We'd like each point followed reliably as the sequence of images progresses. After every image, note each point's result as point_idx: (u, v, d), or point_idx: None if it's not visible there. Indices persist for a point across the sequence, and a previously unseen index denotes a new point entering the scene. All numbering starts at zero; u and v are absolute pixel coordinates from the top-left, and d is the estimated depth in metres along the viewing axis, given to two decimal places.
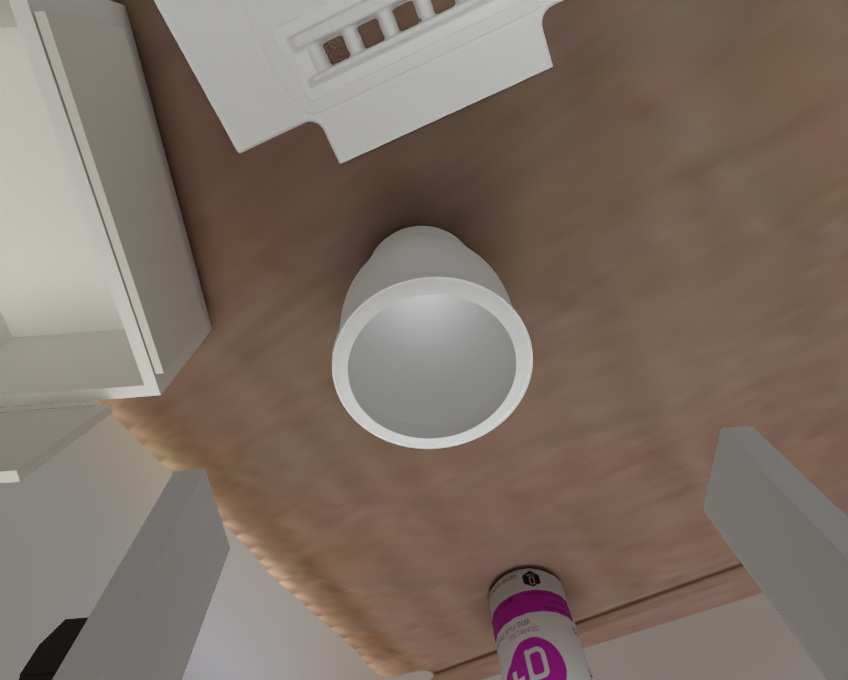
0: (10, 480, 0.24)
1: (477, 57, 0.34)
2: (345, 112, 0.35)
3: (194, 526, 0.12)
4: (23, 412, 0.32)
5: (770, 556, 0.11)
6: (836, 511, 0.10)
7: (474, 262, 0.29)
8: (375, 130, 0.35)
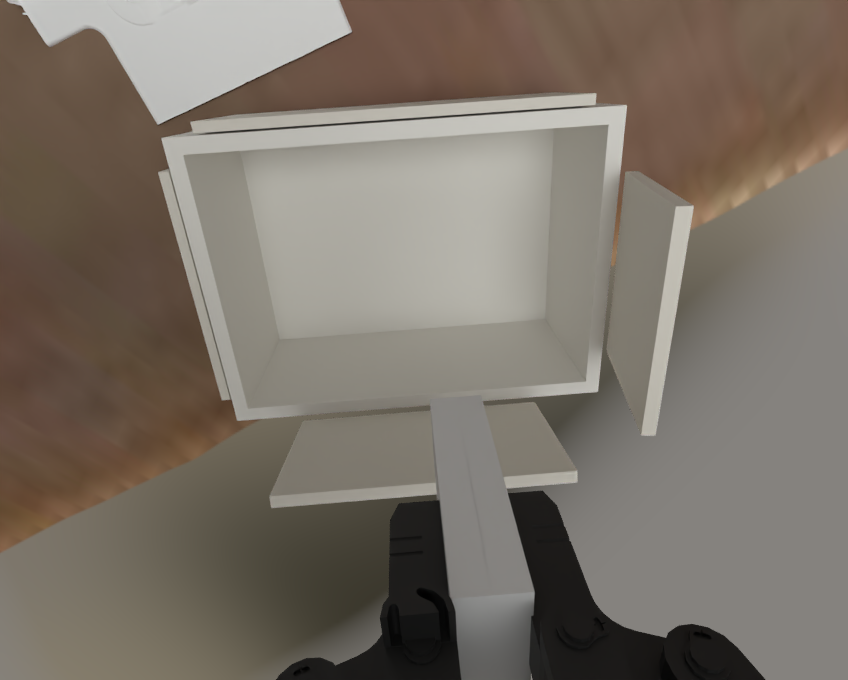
0: (689, 218, 0.18)
1: None
2: None
3: None
4: (616, 272, 0.27)
5: None
6: (498, 460, 0.12)
7: None
8: None
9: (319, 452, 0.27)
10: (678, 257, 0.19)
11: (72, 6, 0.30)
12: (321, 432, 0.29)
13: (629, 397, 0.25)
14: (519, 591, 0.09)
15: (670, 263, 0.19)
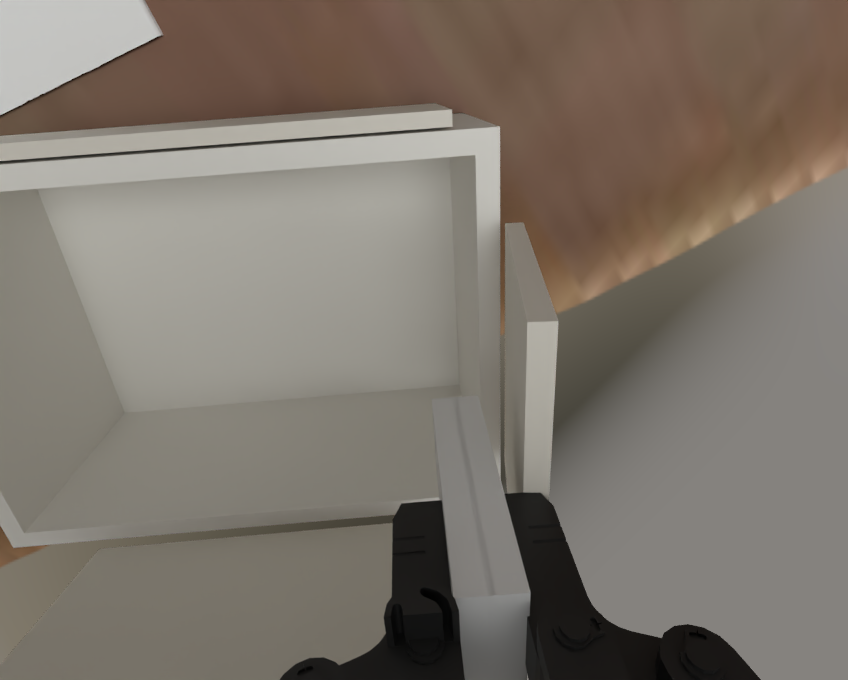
0: (552, 340, 0.10)
1: None
2: None
3: None
4: (505, 361, 0.19)
5: None
6: (494, 461, 0.12)
7: None
8: None
9: (79, 621, 0.19)
10: (542, 402, 0.11)
11: None
12: (108, 575, 0.21)
13: None
14: (515, 592, 0.09)
15: (531, 409, 0.11)
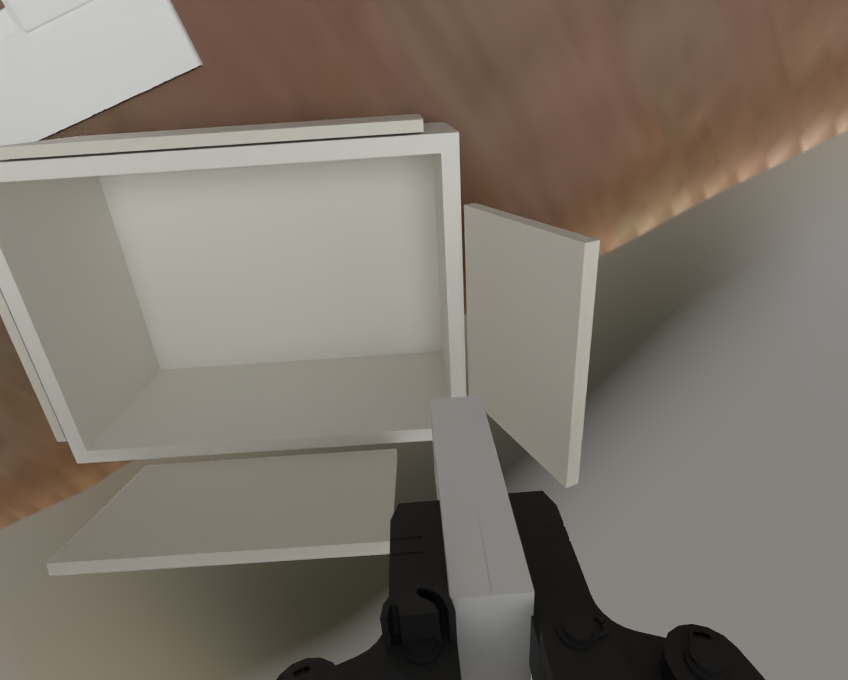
0: (596, 253, 0.17)
1: None
2: None
3: None
4: (469, 312, 0.25)
5: None
6: (497, 460, 0.12)
7: None
8: None
9: (135, 506, 0.25)
10: (589, 296, 0.17)
11: None
12: (154, 480, 0.27)
13: (530, 446, 0.22)
14: (519, 591, 0.09)
15: (581, 304, 0.17)
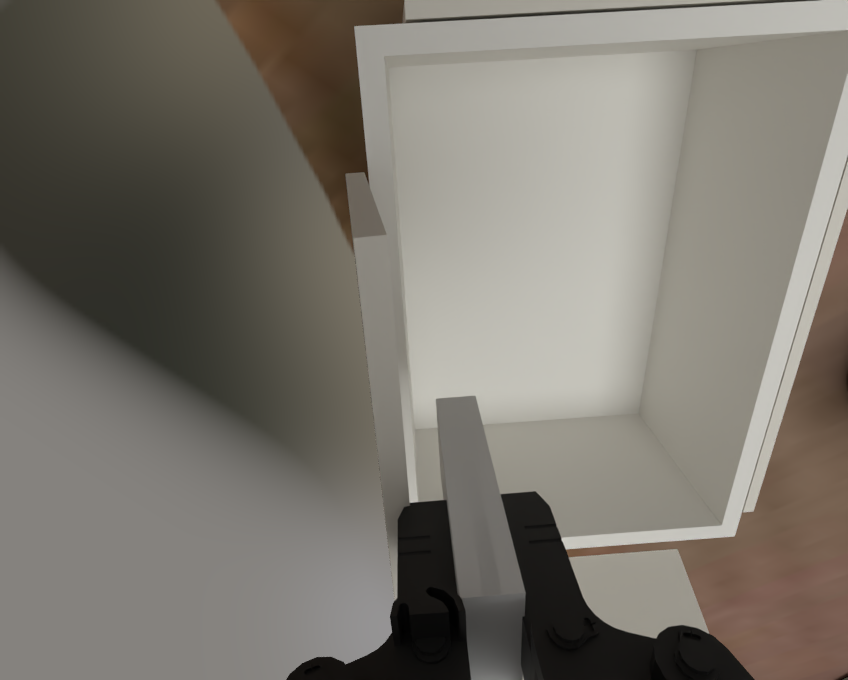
0: None
1: None
2: None
3: None
4: (573, 564, 0.24)
5: None
6: (491, 461, 0.12)
7: None
8: None
9: None
10: None
11: None
12: None
13: None
14: (510, 592, 0.09)
15: None
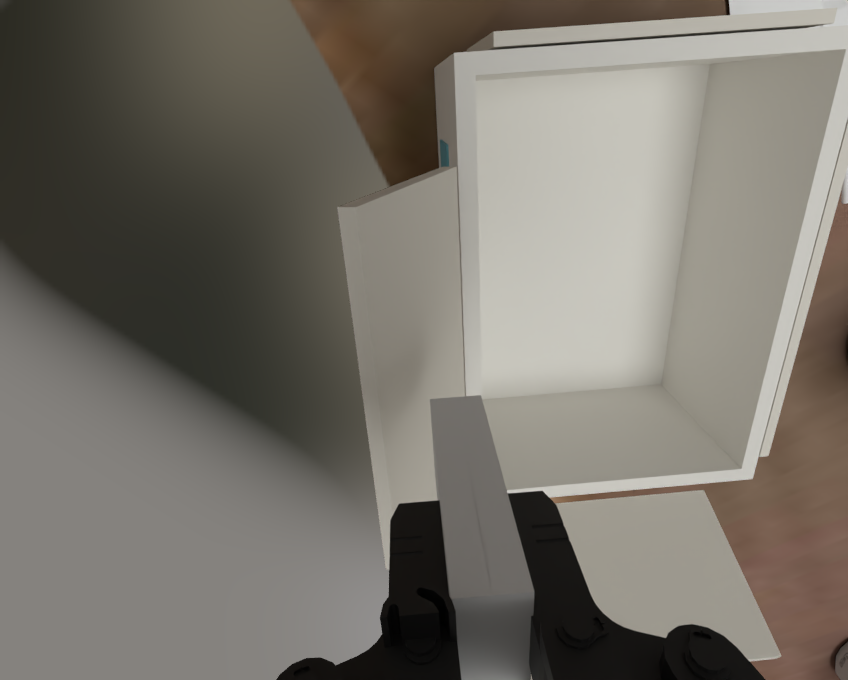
0: (766, 659, 0.24)
1: None
2: None
3: None
4: (614, 504, 0.28)
5: None
6: (497, 460, 0.12)
7: None
8: None
9: (416, 233, 0.18)
10: None
11: None
12: (441, 211, 0.20)
13: None
14: (519, 591, 0.09)
15: None
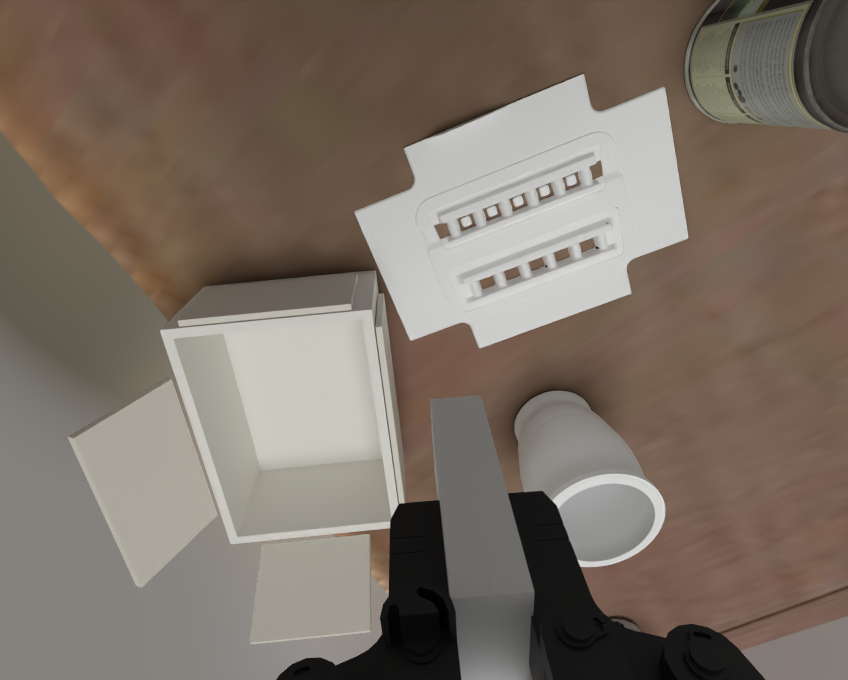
0: (365, 632, 0.43)
1: (581, 287, 0.49)
2: (488, 318, 0.50)
3: None
4: (314, 543, 0.48)
5: None
6: (497, 460, 0.12)
7: (619, 446, 0.45)
8: (506, 329, 0.51)
9: (132, 426, 0.37)
10: (348, 633, 0.43)
11: (427, 173, 0.44)
12: (157, 406, 0.39)
13: (258, 610, 0.44)
14: (519, 591, 0.09)
15: (344, 632, 0.43)
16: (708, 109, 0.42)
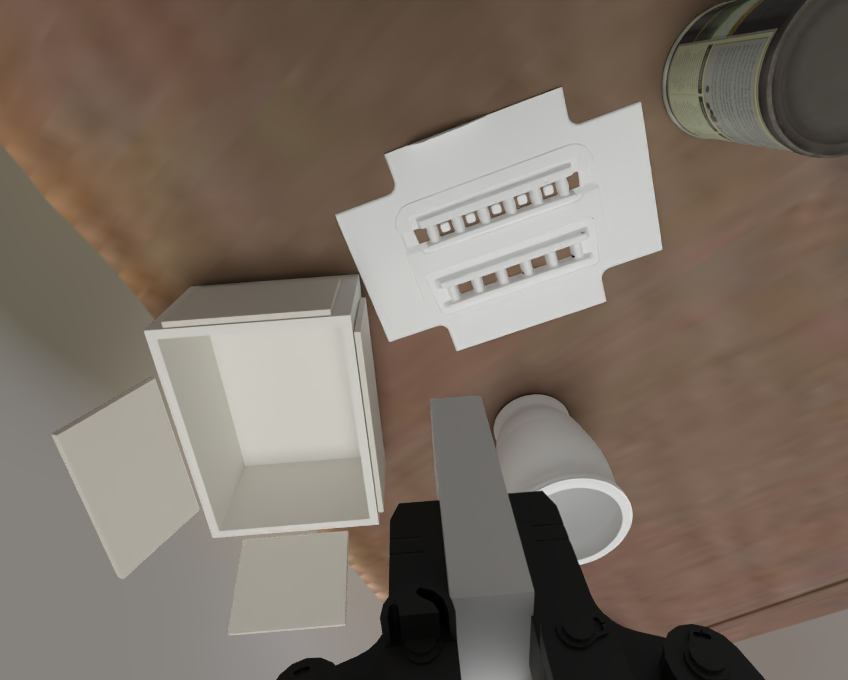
0: (340, 625, 0.44)
1: (557, 294, 0.50)
2: (465, 321, 0.51)
3: None
4: (294, 538, 0.49)
5: None
6: (497, 461, 0.12)
7: (591, 451, 0.46)
8: (483, 332, 0.52)
9: (115, 424, 0.38)
10: (323, 626, 0.44)
11: (407, 179, 0.45)
12: (141, 405, 0.40)
13: (237, 602, 0.45)
14: (519, 591, 0.09)
15: (320, 625, 0.44)
16: (684, 125, 0.43)
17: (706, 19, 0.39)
